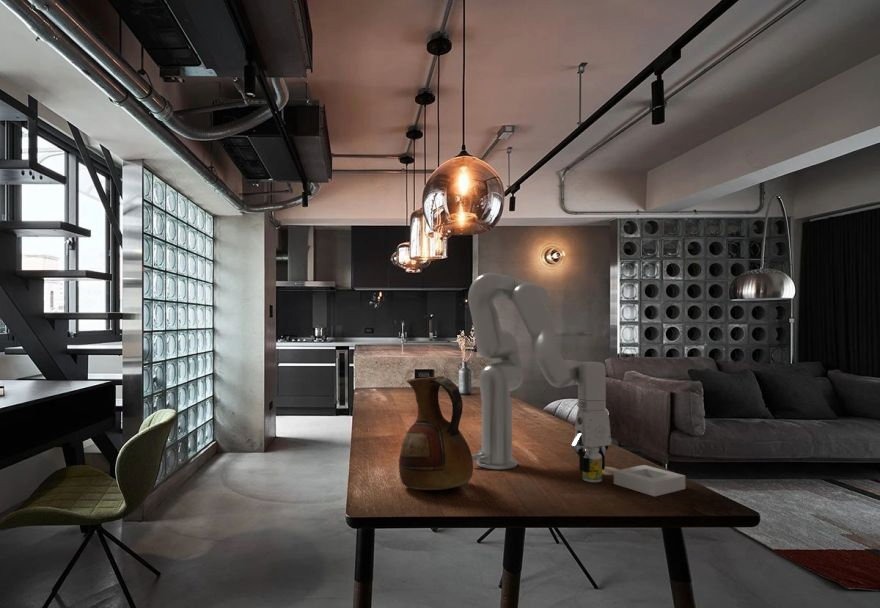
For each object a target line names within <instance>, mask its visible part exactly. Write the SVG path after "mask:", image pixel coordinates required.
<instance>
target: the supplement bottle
mask: <svg viewBox="0 0 880 608" xmlns="http://www.w3.org/2000/svg"><path fill="white" fill-rule="evenodd" d="M598 452H599V447H596V448H590V449H589V453H588V457H587V458H589V473H586V472H583V471H581V472H582V476H581V477H582V480H583V481H585V482H588V483H600V482H602V481H603V475H602V456H601V454H600V453H598Z"/></svg>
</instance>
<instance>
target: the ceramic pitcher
mask: <svg viewBox="0 0 880 608" xmlns="http://www.w3.org/2000/svg"><path fill="white" fill-rule="evenodd" d="M406 382H407V383H408V385H409V386H410V387H411V388H412V390H413V392H414V395H415V399H416V400H415V401H416V405H417V416H416V420H415V421H414V423H413V424H412V425H411V426H410V427H409V428H408V430H407V431H406V433H405V436H404V438H403V440H402V444H401V448H400V454H399V459H398V470H399V471H398V472H399V478H400V480H401V484H403V486H404V487H407V488H410V489H415V490H421V491H422V490H423V491H443V490H449V489H453V488H457V487H463V486H467V485H468V484H469V482H470V481H471V479H472V477H473V474H474V473H473V472H474V461H473V460H472V452H471V449H470V445H469V444H468V442H467V441H466V438H465V437H464V435H463V434H462V432H461V430H460V429H459V427H460V423H461V418H462V415H463V409H464V408H463V407H464V405H463V398H462V395H461V392H460V390H459V387H458V386H457V384H455V383H454V382H453V381H452V380H451V379H449V378H447V377H445V376H443V375H442V376H441V375H437V376H434V377H433V376H429V377H419V378H410V379H407V380H406ZM440 388H443V389H444V390H445V391H446V393H447V394H448V396H449V398H450V401H451V403H452V405H451V406H452V407H451V408H452V414H451V420H450V421H449V420H447V419H445V417H444V415H443V414H442V411H441V407H440V401H439V391H440Z"/></svg>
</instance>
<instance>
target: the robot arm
mask: <svg viewBox="0 0 880 608" xmlns="http://www.w3.org/2000/svg"><path fill="white" fill-rule="evenodd" d="M467 296H468V297H467V301H468V307H469V312H470V315H471V320H472V326H473V332H474V337H475V343H476V347H477V348H476V349H477V351H478V354H479V355H480V356H481V357H482V358H484V359H486V360H493V362H492V363H489V364H488V365H486V366H485V367H484V368H482V370H481V371H480V374H479V377H478V378H479V379H478V380H479V381H478V382H479V383H478V384H479V385H478V386H479V390H480V399H481V449H478V452H477V453H476V454H475V453H474V454H472V453H471V455H472V460H473V462H476V465H477V466H479V467H481V468H483V469H488V470H489V469H490V470H509V469H514V468H516V467H517V465H518V462H517V460H516V459H514V458H513V404H512V398H511V393H510V392H512V391H514V390H517V389H518V388H519V387H520V386H521V385H522V383H523V381H524V372H523V371H524V370H523V366H522V361H521V356H520V350H519V346H518V345H519V344H518V342H517V340H516V337H515V336H514V335H513V333H511V331H509V330H506V329H503V328H502V327H501V323H500V317H499V313H498V311H497V309H496V306H495V305H494V304H495V303H494V302H495V301H499V302H506V303H508V304H512V305H514V306H515V308H516V311H517V313H518V315H519V316H520V318H521V319H522V322H523V324H524V326H525V328H526V330H527V332H528V333H529V334H528V335H529V336H530V340H531V341H530V342H531V347H532V351H533V356H534V359H535V361H536V363H537V365H538V367H539V369H540V371H541V372H542V375H543V377H544V378H545V379H546V381H547V382H548V383H549V384H550V385H551V386H552V387H555V388H566V387H570V386H575V385H577V386H578V387H577V391H578V393H577V394H578V395H577V401H578V402H577V403H576V405H577V406H576V407H578V409H577V412H576V417H575V424H574V425H575V426H574V439H573V441H572V444H571V448H572V449H573V450H574V451H575V453H576V454H577V456H578V457H579V458H578V461H579V463H578V464H579V467H578V468H579V472H582V471H583V472H586V473H589V458H587V457H588V453H589V449H590V448H596V447H599V452H598V453H600V454H601V456H602V470H604V469H605V467H606V464H605V462H606V461H605V458H606V457H605V456H606V455H607V450H608V448H609V446H610V445H611V444H612V441H613V440H612V438H611V425H610V424H611V422H610V416H609V412H608V410H607V407H606V406H607V405H606V404H607V402H606V398H607V397H606V395H607V394H606V392H607V391H606V382H607V381H606V379H607V378H606V372H607V371H606V365H605V364H604V363H603V362H600V361H599V362H598V361H579V360H574V359H573V360H572V359H564V358H563V356H562V354H561V352H560V350H559V348H558V346H557V343H556V342H557V341H556V332H557V323H556V321H555V319H554V316H553V315H552V313H551V312H550V309H549V308H548V306H547V305H548V303H549V298H550V297H549V293H548V291H547V290H546V289H545V288H544V287H543V286H542V285H540V284H537V283H532V282H529V281H525V280H522V279H520V278H516V277H514V276H511V275H506V274H502V273H495V272H486V273H483V274H481V275H478V277H477V278H475V279H474V281H473V282H472V283H471V285H470V287H469V290H468V294H467Z"/></svg>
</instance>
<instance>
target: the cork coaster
mask: <svg viewBox="0 0 880 608" xmlns="http://www.w3.org/2000/svg"><path fill="white" fill-rule="evenodd" d="M616 470H620V469H618V468H616V467H610V466H605V469H604V470H602V476H614V471H616Z"/></svg>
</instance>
